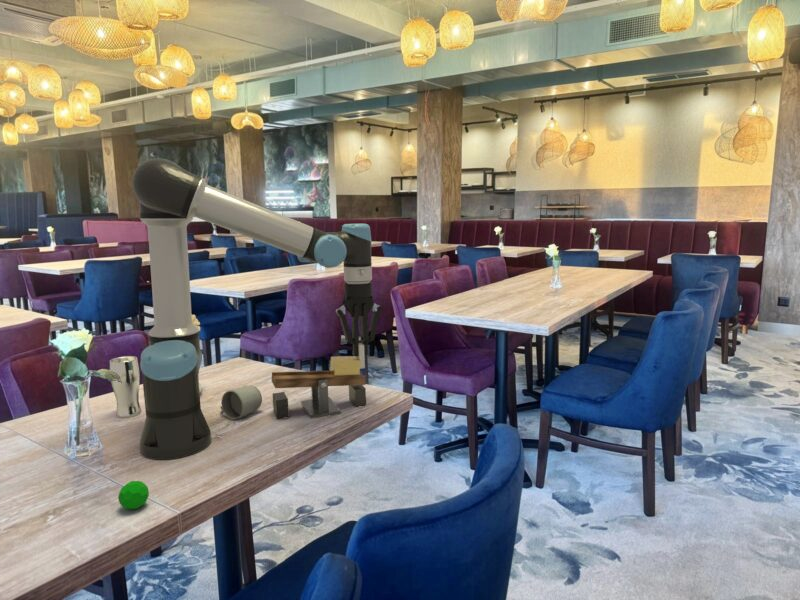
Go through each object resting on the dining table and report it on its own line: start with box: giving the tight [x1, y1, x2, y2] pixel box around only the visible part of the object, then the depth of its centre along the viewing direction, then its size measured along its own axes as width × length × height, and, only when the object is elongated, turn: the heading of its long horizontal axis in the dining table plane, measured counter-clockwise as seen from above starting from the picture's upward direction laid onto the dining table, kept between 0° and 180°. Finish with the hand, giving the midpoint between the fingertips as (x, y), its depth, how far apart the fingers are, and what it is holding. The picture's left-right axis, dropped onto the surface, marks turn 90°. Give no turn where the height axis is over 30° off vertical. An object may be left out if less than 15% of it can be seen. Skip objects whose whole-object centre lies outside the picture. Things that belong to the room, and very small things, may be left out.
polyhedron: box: [117, 480, 150, 510], centre depth 102 cm, size 5×5×5 cm
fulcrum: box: [272, 379, 367, 420], centre depth 150 cm, size 24×12×9 cm, turn 111°
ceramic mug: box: [220, 384, 263, 421], centre depth 147 cm, size 11×8×8 cm
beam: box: [271, 370, 367, 389], centre depth 149 cm, size 24×7×2 cm, turn 111°
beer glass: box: [109, 355, 142, 419], centre depth 148 cm, size 7×7×15 cm
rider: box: [329, 355, 361, 377], centre depth 151 cm, size 7×5×5 cm, turn 111°
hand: (360, 367), depth 153 cm, fingers closed
